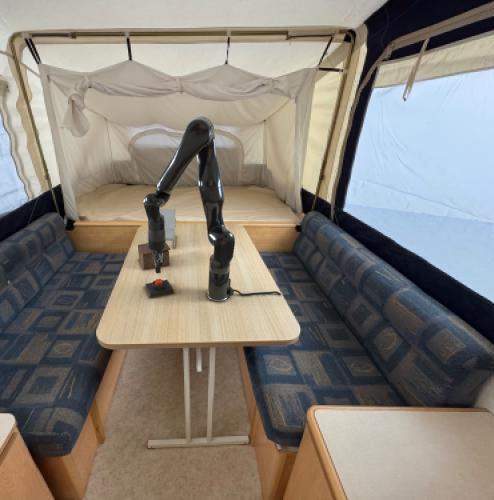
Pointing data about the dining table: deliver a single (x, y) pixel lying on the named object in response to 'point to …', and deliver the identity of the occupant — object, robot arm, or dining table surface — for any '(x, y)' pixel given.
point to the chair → (169, 224)
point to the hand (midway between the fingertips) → (157, 272)
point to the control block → (158, 289)
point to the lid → (145, 249)
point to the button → (158, 282)
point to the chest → (148, 260)
